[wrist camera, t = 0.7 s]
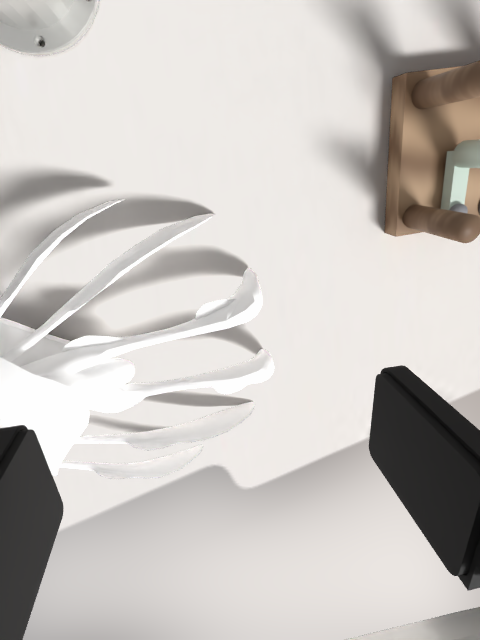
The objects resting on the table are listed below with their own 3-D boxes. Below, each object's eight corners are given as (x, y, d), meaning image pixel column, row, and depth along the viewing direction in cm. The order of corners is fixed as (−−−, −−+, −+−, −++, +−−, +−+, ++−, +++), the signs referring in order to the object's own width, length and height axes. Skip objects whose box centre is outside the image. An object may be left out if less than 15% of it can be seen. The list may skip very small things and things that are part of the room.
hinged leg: (455, 218, 41) (519, 231, 34) (435, 221, 41) (495, 235, 33) (466, 139, 38) (540, 133, 30) (444, 142, 38) (513, 137, 30)
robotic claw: (221, 173, 41) (-190, 263, 32) (265, 172, 30) (-350, 311, 21) (265, 400, 56) (-10, 506, 47) (305, 457, 45) (-47, 612, 35)
